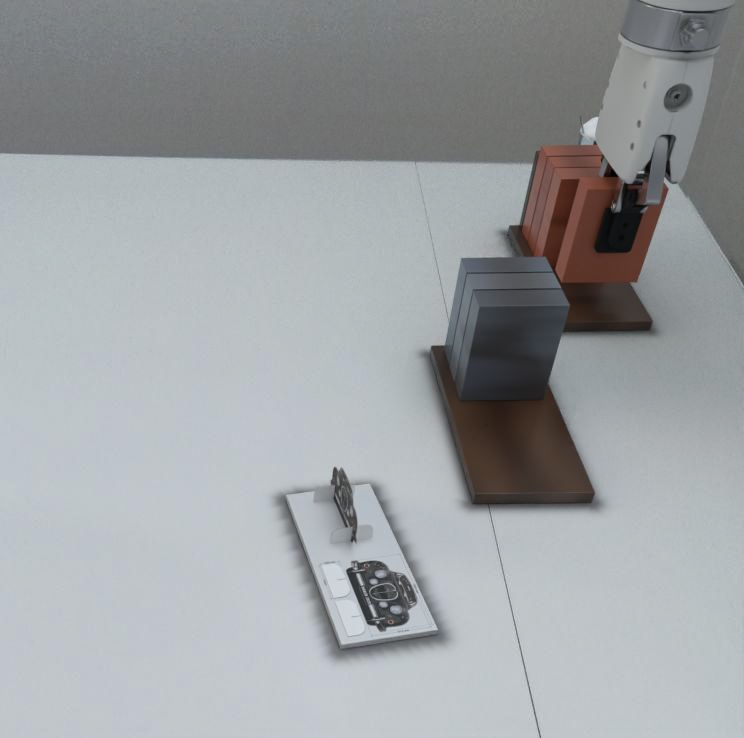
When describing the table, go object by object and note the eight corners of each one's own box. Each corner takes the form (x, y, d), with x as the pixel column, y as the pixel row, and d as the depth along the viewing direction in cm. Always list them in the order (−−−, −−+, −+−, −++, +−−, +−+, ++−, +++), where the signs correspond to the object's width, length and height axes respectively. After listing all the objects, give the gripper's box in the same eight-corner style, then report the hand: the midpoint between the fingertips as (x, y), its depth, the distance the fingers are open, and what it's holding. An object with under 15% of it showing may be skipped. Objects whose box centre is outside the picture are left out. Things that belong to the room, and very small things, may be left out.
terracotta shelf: (591, 232, 104) (618, 138, 97) (650, 330, 91) (685, 229, 84) (507, 233, 104) (527, 140, 97) (552, 331, 91) (580, 230, 84)
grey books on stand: (529, 353, 88) (555, 251, 81) (592, 502, 74) (630, 394, 67) (429, 354, 88) (447, 252, 81) (472, 503, 74) (498, 396, 67)
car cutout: (285, 499, 75) (288, 453, 72) (369, 487, 75) (375, 442, 72) (340, 649, 64) (346, 603, 61) (437, 634, 65) (448, 588, 62)
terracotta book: (629, 269, 92) (660, 176, 86) (637, 282, 90) (669, 188, 84) (554, 269, 92) (580, 176, 86) (561, 283, 90) (587, 189, 84)
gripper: (764, 59, 70) (678, 288, 83) (685, -9, 82) (620, 202, 94) (659, 60, 70) (590, 289, 83) (595, -8, 82) (543, 202, 94)
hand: (606, 240), depth 89 cm, fingers closed on terracotta book, 2 cm apart
